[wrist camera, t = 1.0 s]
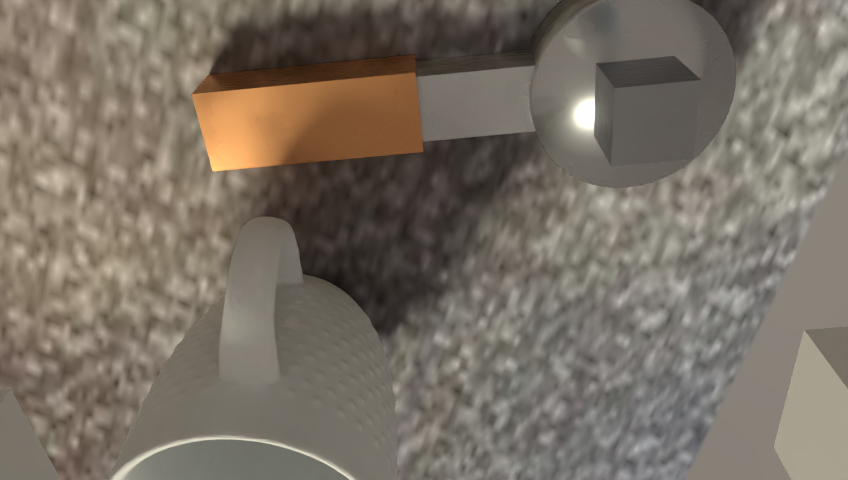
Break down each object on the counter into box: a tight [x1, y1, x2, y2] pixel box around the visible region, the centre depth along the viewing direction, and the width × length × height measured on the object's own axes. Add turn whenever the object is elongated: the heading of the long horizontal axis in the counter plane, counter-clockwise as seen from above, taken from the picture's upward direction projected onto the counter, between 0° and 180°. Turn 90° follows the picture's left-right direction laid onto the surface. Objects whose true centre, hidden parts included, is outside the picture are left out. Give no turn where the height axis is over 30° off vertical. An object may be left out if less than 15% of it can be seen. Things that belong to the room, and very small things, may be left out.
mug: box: [108, 216, 398, 480], centre depth 30 cm, size 15×11×13 cm
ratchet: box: [192, 0, 736, 188], centre depth 28 cm, size 8×22×6 cm, turn 96°
